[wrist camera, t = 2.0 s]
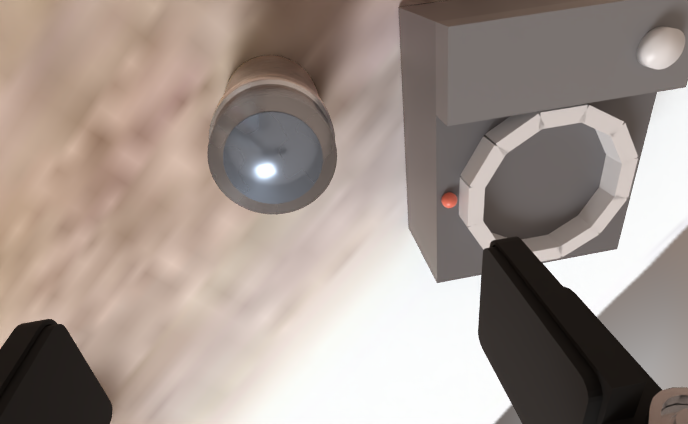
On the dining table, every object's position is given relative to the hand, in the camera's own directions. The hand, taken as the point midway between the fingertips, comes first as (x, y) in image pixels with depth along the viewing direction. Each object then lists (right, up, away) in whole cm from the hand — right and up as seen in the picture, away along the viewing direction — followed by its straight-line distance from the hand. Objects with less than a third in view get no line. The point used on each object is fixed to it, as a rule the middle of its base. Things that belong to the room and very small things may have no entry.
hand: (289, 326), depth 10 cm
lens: (-3, +9, +15) cm, 17 cm away
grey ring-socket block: (+10, +8, +17) cm, 22 cm away
